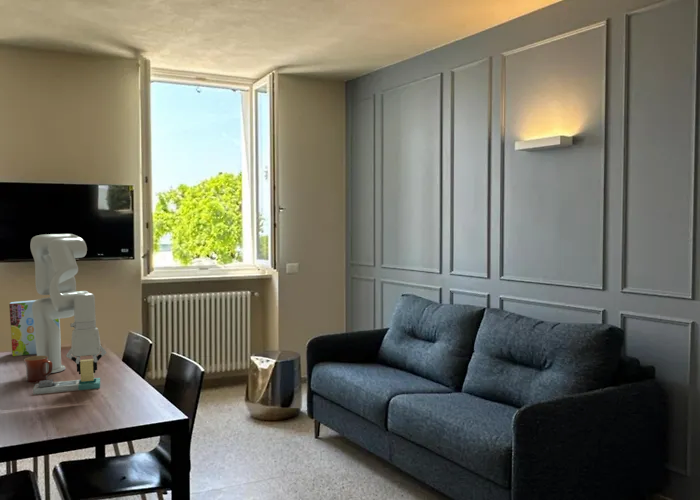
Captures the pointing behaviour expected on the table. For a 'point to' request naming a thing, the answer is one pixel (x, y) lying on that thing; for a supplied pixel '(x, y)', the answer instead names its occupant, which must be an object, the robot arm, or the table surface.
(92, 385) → the rail
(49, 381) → the grey hollow block
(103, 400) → the table surface
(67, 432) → the table surface
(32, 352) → the snack box
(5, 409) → the table surface
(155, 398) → the table surface
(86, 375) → the wooden block
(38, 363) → the mug
